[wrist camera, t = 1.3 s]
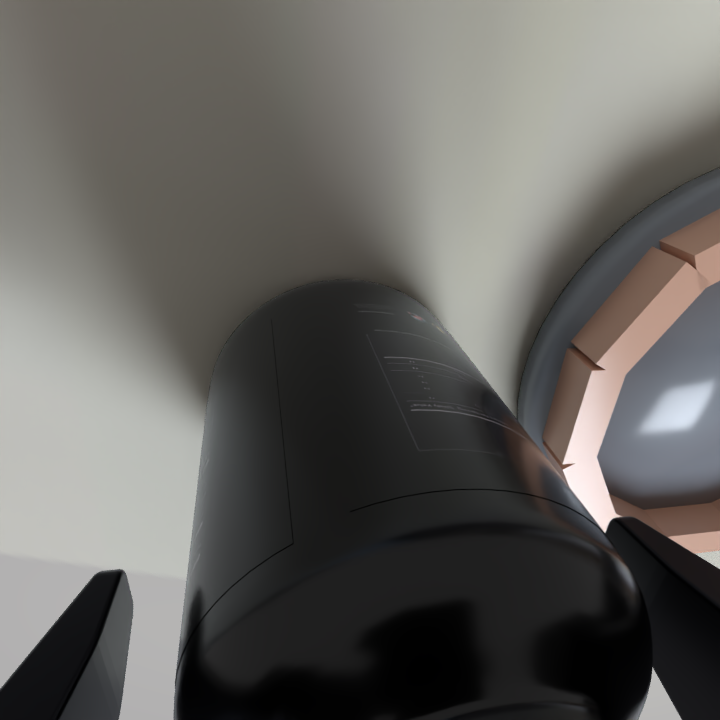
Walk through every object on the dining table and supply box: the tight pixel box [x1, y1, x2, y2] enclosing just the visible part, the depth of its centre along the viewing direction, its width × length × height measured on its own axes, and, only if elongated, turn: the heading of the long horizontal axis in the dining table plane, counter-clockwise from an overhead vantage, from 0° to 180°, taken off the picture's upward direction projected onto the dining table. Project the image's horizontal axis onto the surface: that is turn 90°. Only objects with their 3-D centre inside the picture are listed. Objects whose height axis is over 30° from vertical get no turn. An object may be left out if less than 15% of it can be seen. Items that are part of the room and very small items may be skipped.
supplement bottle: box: [174, 280, 653, 720], centre depth 9 cm, size 7×7×12 cm
